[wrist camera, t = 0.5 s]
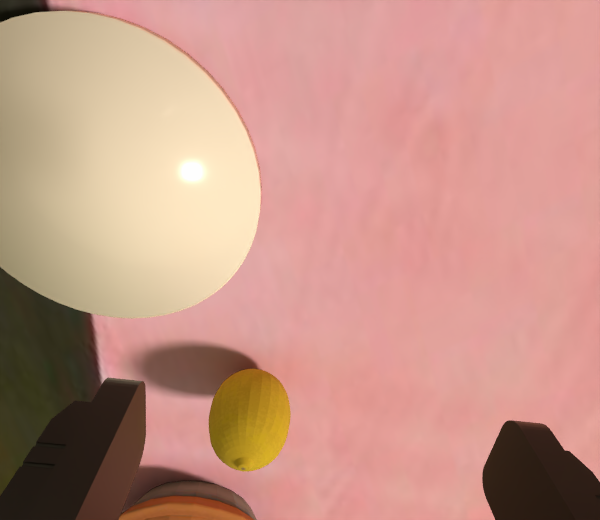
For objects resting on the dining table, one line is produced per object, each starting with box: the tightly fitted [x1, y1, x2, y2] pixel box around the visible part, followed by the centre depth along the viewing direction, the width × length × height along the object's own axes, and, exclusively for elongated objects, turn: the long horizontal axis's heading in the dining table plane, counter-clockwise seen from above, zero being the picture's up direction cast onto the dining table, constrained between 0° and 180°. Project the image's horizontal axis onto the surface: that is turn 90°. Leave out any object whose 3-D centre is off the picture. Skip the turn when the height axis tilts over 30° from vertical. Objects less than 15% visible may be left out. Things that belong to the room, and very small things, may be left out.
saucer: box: [0, 11, 262, 318], centre depth 26 cm, size 18×18×1 cm
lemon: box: [209, 369, 290, 471], centre depth 30 cm, size 6×6×8 cm
